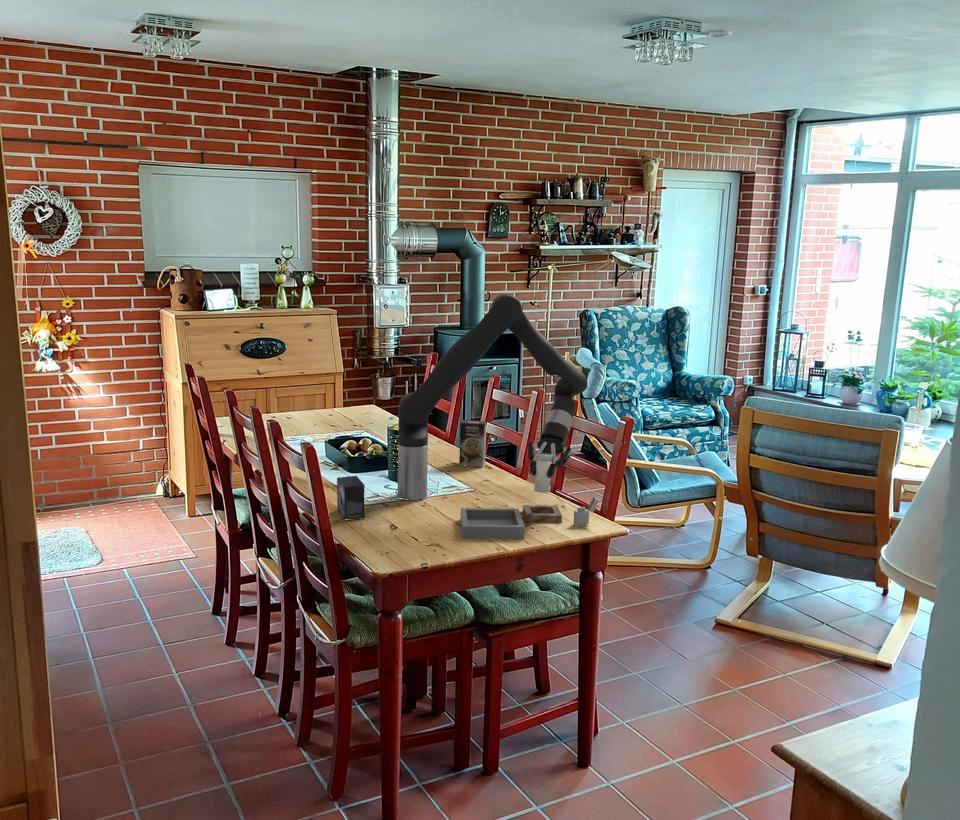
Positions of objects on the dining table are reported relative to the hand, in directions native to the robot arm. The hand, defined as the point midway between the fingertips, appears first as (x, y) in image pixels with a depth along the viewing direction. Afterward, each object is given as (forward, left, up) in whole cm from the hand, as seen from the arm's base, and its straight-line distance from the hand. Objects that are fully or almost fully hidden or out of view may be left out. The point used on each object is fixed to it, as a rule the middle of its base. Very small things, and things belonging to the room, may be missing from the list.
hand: (541, 475), depth 261 cm
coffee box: (-17, +63, -13) cm, 66 cm away
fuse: (+1, +2, -5) cm, 5 cm away
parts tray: (-15, -10, -13) cm, 23 cm away
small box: (-56, +2, -13) cm, 58 cm away
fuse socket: (+1, +2, -13) cm, 13 cm away
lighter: (+13, -5, -13) cm, 19 cm away
